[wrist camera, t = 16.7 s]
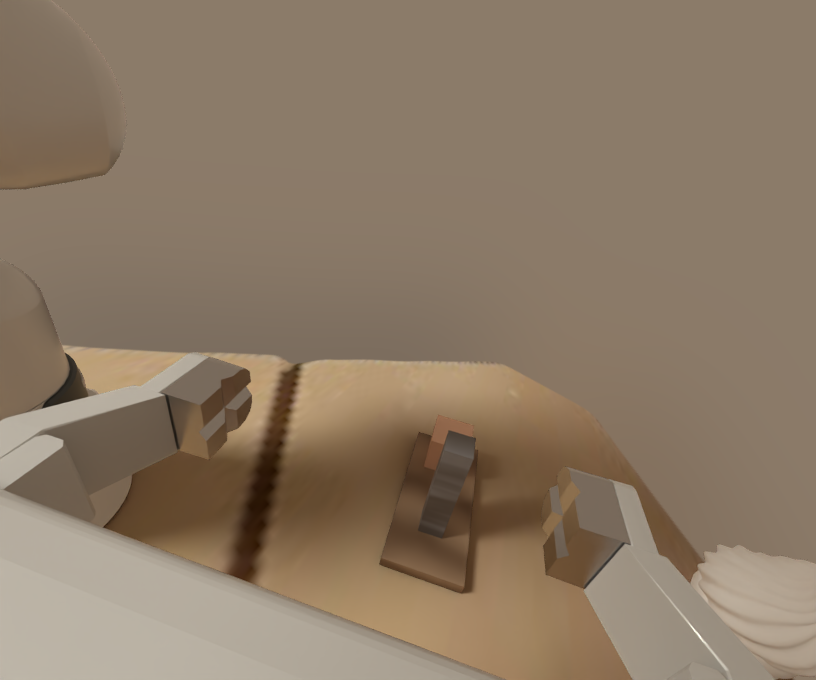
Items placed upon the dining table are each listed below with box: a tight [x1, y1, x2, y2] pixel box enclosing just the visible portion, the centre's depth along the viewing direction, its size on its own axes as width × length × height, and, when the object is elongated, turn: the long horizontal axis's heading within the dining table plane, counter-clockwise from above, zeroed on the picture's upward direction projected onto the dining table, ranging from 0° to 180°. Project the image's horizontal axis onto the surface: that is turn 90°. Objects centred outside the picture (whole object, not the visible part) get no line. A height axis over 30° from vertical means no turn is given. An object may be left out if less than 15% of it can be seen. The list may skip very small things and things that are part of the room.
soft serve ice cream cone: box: [690, 544, 816, 680], centre depth 29 cm, size 8×8×16 cm
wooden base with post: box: [380, 430, 478, 593], centre depth 39 cm, size 17×8×13 cm, turn 167°
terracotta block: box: [424, 415, 474, 470], centre depth 45 cm, size 4×4×4 cm
